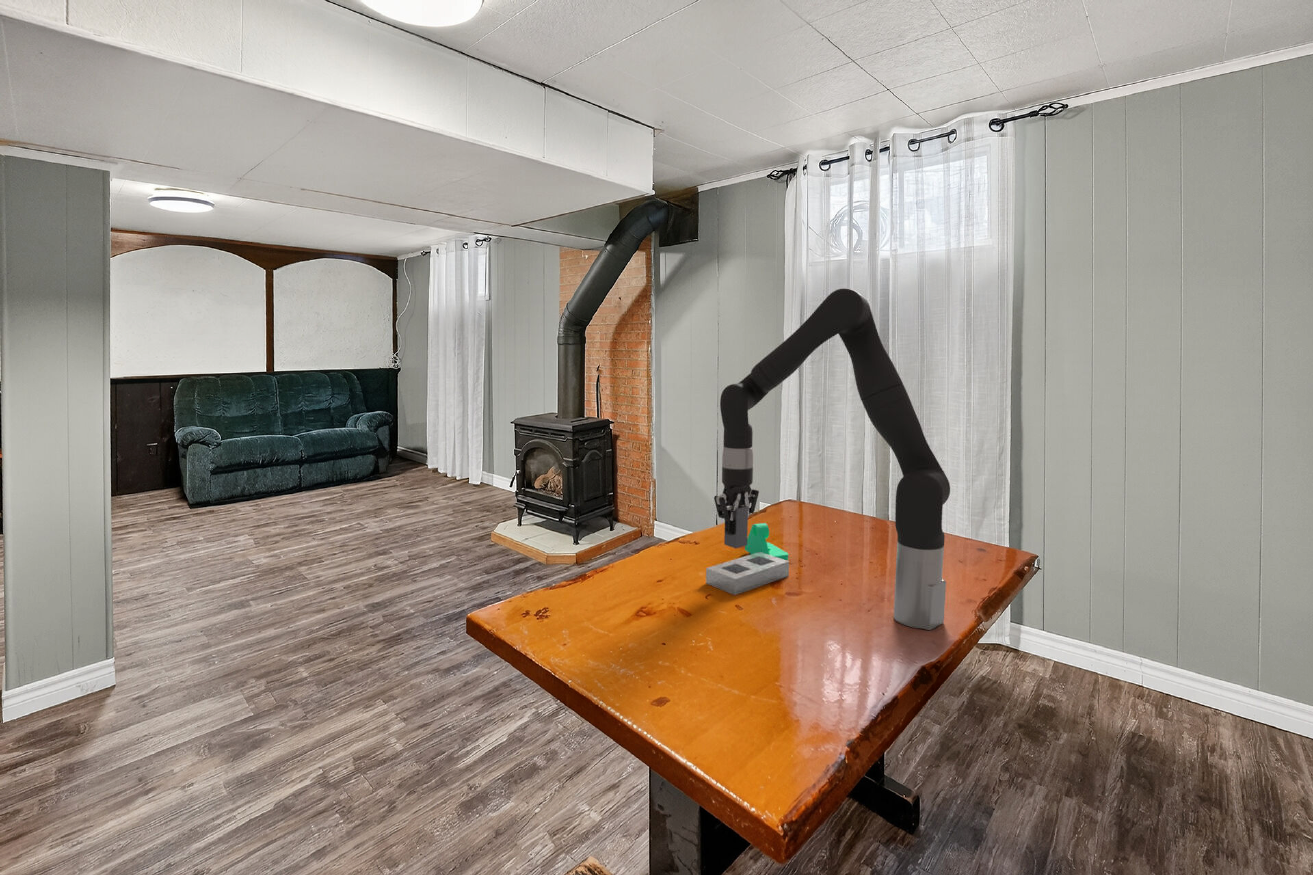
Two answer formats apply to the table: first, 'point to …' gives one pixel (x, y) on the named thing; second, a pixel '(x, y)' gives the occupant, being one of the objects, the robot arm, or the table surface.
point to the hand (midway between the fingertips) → (736, 532)
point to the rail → (747, 572)
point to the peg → (738, 528)
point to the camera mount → (762, 542)
